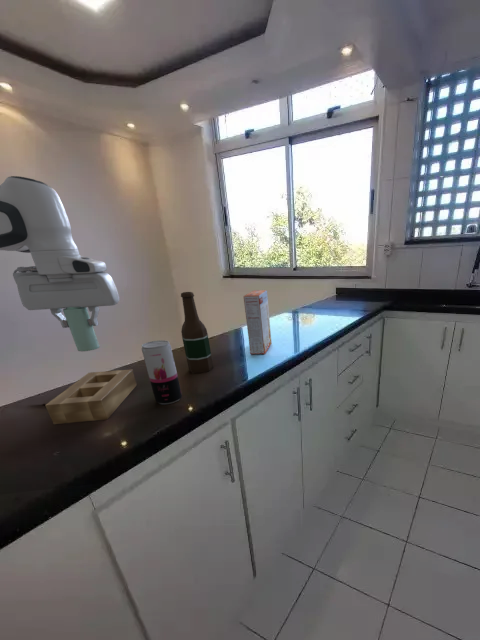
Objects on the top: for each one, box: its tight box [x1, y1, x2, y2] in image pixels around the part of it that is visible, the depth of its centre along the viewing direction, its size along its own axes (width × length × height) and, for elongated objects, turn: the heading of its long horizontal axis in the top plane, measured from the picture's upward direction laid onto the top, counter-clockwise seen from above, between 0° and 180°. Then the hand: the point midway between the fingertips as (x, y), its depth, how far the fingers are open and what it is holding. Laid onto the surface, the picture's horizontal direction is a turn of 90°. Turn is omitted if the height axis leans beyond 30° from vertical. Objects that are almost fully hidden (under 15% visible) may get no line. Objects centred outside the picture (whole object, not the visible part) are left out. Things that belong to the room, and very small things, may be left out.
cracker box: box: [243, 289, 272, 355], centre depth 115 cm, size 14×6×21 cm, turn 174°
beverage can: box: [141, 339, 183, 405], centre depth 78 cm, size 7×6×15 cm
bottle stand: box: [45, 368, 138, 425], centre depth 80 cm, size 12×21×5 cm, turn 8°
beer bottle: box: [180, 291, 214, 374], centre depth 96 cm, size 8×8×24 cm
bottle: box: [62, 307, 101, 352], centre depth 75 cm, size 5×5×15 cm
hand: (81, 326), depth 76 cm, fingers closed on bottle, 5 cm apart
